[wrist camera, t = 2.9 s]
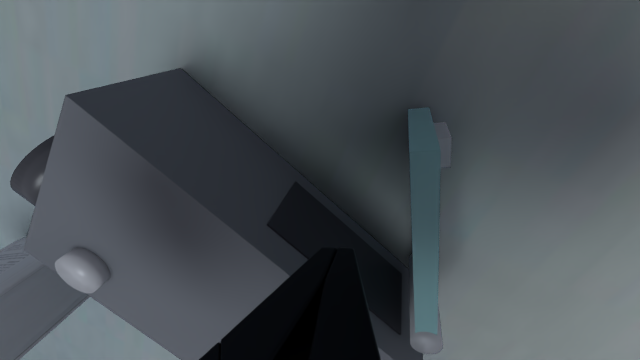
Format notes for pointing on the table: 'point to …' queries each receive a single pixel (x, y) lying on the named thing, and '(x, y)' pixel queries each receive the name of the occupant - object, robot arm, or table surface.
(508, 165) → the table surface
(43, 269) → the photo printer
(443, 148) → the side door
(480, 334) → the table surface
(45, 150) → the box
